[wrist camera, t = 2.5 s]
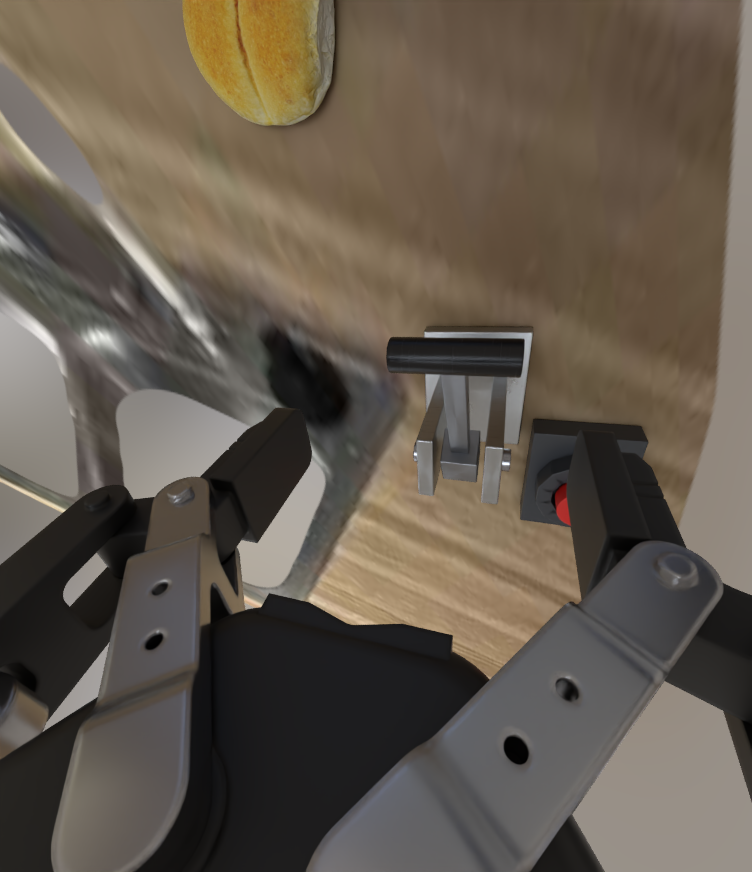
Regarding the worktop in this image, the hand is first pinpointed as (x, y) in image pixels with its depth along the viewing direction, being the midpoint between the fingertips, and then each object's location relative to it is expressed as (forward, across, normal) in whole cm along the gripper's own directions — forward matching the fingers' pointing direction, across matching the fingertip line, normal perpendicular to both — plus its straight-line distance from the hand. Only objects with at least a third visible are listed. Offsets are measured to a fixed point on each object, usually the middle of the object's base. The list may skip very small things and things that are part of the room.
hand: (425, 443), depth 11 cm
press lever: (+10, 0, +4) cm, 11 cm away
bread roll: (+21, +13, -14) cm, 29 cm away
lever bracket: (+21, 0, +9) cm, 23 cm away
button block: (+21, -9, +17) cm, 28 cm away
